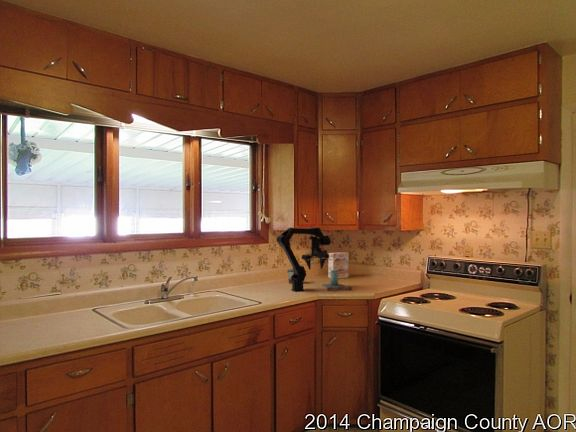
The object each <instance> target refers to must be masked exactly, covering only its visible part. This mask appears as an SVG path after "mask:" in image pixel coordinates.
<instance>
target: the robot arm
mask: <svg viewBox="0 0 576 432" xmlns="http://www.w3.org/2000/svg"><path fill="white" fill-rule="evenodd" d="M321 229H322V228H320V227H316V226H311V227H308V228H300V227H288V228H286V230H285V231H283V232H282V233H281V234H279V235H277V238H276V242H277V244H278V246H280V247H281V249H283V251H284V253H285V255H286V257H287V259H288V261H289V263H290V265H291V268H292V269H293V273H294V274H293V275H292V276H291V280H293V281H292V284H291V287H292V288H291V291H294V292H305V290H304V282H305V278H306V277H307V271H306V269H305V267H304V266H303V265H301V264H299V262H298V260H297V257H296V255H295V253H294V251H293V249H292V247H291V242H290V241H291V239H292V238H293V236H294V235H296V234H297V235H309V237H308V240H311V241H310V242H311V244H310V250H311V253H310V254H305V253H304V254H302V255H301V259H302V260H303V261H305V264H306V266H307V267H308V270H309V271H310V270H311V267H312V266H311V263H312V259H317V258H318V259H319V264H320V270H321V269H323V267H324V264H325V262H326V260H327V261H328V258H329V253H328V250H327V249H324V250H322V247H323V246H324V247H325V246H331V245H330V244H331V238H330V236H329V235H324V234H323V232H322V230H321ZM321 246H322V247H321Z"/></svg>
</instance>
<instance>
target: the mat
mask: <svg viewBox="0 0 576 432" xmlns="http://www.w3.org/2000/svg"><path fill="white" fill-rule="evenodd" d="M321 286H322V287H324V288H327V287H347V285H345V284H341V283H338V285H337V286H332V285H331V283H324V284H321Z"/></svg>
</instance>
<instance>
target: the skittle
mask: <svg viewBox="0 0 576 432" xmlns="http://www.w3.org/2000/svg"><path fill="white" fill-rule="evenodd" d="M330 284H331V285H332V286H337V285H338V284H339V278H338V270H331V278H330Z"/></svg>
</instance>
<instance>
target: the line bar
mask: <svg viewBox="0 0 576 432" xmlns="http://www.w3.org/2000/svg"><path fill="white" fill-rule="evenodd" d="M326 291H328V292H330V291H331V292H332V291H334V292H335V291H353V287H352V286H346V287H326Z"/></svg>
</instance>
